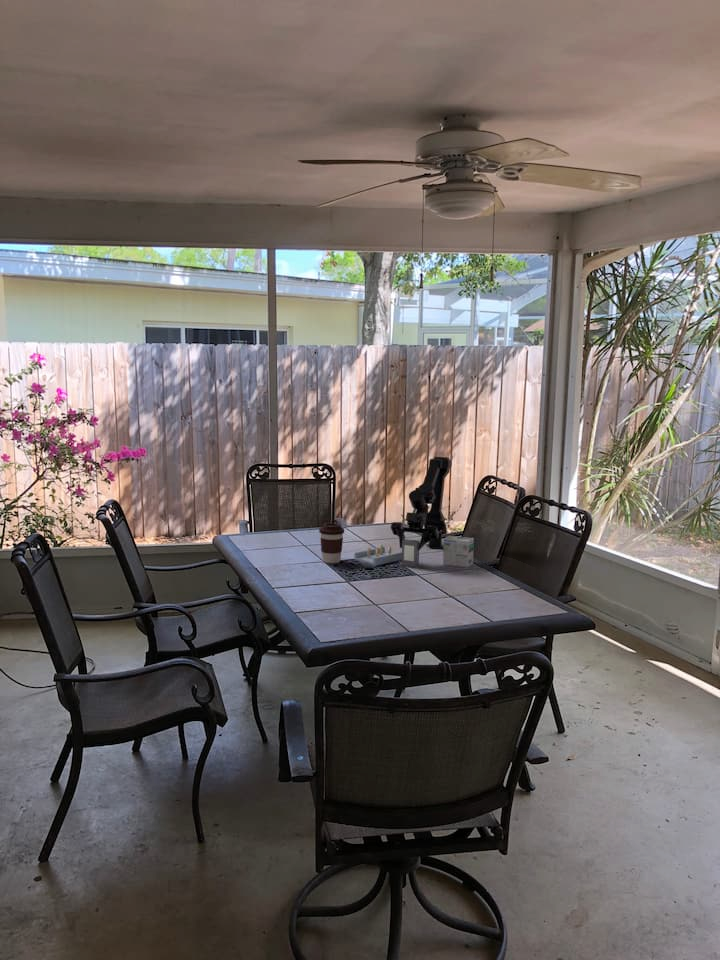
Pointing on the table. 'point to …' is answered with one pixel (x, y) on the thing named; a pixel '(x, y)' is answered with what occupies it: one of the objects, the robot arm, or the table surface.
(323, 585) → the table surface
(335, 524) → the coffee cup
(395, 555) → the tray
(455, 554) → the light bulb box
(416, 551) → the block
